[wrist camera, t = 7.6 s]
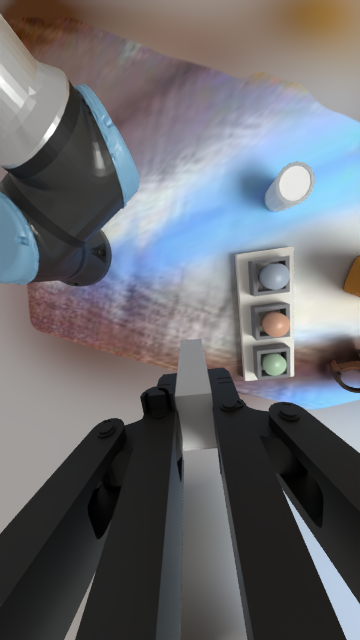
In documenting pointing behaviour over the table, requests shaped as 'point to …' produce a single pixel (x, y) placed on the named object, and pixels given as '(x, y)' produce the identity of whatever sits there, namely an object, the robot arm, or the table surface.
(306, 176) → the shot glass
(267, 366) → the sage button
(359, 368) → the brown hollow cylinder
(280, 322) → the terracotta button
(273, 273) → the slate button
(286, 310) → the button panel
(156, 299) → the table surface
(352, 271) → the coffee package
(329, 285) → the table surface
